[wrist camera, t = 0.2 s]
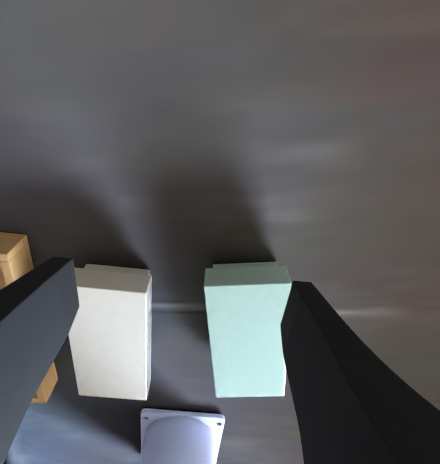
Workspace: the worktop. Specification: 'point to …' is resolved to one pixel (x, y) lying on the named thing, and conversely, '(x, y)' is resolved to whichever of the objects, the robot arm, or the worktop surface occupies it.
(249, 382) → the sage green thick block
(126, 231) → the worktop surface
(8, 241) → the tray
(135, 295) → the off-white rectangular slab
